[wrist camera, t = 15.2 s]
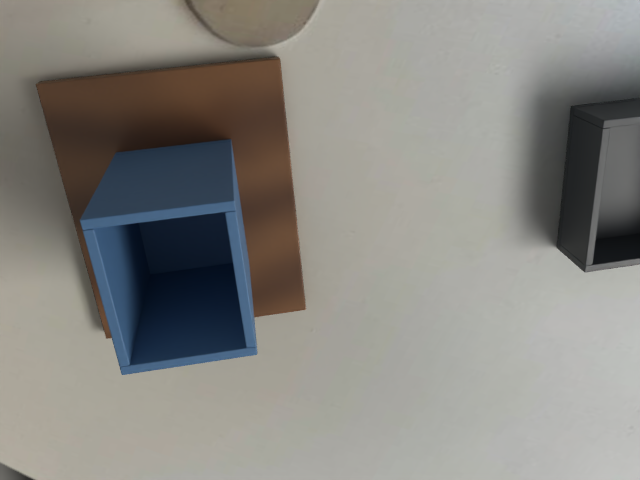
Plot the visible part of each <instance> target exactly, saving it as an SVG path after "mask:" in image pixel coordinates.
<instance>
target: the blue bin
mask: <svg viewBox="0 0 640 480" xmlns="http://www.w3.org/2000/svg"><path fill="white" fill-rule="evenodd" d="M80 223H81V227H82V230H83V234H84V238H85V241H86V245H87V249H88V252H89V256H90V260H91V263H92V267H93V271H94V274H95V278H96V282H97V285H98V289H99V293H100V296H101V300H102V304H103V307H104V311H105V315H106V318H107V322H108V326H109V329H110V333H111V337H112V340H113V344H114V348H115V351H116V355H117V359H118V362H119V366H120V370H121V374H122V375H126V374H132V373H139V372H145V371H152V370H159V369H165V368H172V367H179V366H185V365H192V364H198V363H205V362H212V361H218V360H225V359H231V358H238V357H245V356H251V355H257V344H256V333H255V321H254V310H253V299H252V288H251V277H250V266H249V258H248V251H247V244H246V238H245V231H244V224H243V217H242V210H241V203H240V196H239V189H238V182H237V176H236V169H235V162H234V155H233V148H232V141H231V139H228V140H220V141H211V142H202V143H194V144H185V145H177V146H168V147H159V148H151V149H142V150H134V151H125V152H116V153H115V155H114V157H113V159H112V161H111V163H110V165H109V166H108V168H107V170H106V172H105V174H104V176H103V178H102V180H101V181H100V183H99V185H98V187H97V189H96V191H95V193H94V195H93V196H92V198H91V200H90V202H89V204H88V206H87V208H86V210H85V211H84V213H83V215H82V217H81V219H80Z"/></svg>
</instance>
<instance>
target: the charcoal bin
mask: <svg viewBox="0 0 640 480" xmlns="http://www.w3.org/2000/svg"><path fill="white" fill-rule="evenodd" d="M557 249H559V250H560V251H561V252H562V253H563V254H564V255H565V256H567V257H568V258H569V259H570V260H571V261H572V262H573V263H575V264H576V265H577V266H578V267H579V268H580V269H581V270H583V271H584V272H590V271H597V270H604V269H611V268H618V267H625V266H632V265H638V264H640V98H636V99H628V100H619V101H611V102H602V103H594V104H585V105H577V106H571V112H570V122H569V132H568V142H567V152H566V162H565V172H564V181H563V191H562V201H561V211H560V221H559V231H558V241H557Z"/></svg>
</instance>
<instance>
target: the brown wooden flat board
mask: <svg viewBox="0 0 640 480" xmlns="http://www.w3.org/2000/svg"><path fill="white" fill-rule="evenodd" d="M36 87H37V90H38V94H39V98H40V101H41V105H42V108H43V112H44V116H45V119H46V123H47V126H48V130H49V134H50V137H51V141H52V144H53V148H54V152H55V155H56V159H57V162H58V166H59V170H60V173H61V177H62V180H63V184H64V188H65V191H66V195H67V198H68V202H69V206H70V209H71V213H72V216H73V220H74V224H75V227H76V231H77V234H78V238H79V242H80V245H81V249H82V252H83V256H84V260H85V263H86V267H87V270H88V274H89V278H90V281H91V285H92V288H93V292H94V296H95V299H96V303H97V306H98V310H99V314H100V317H101V321H102V325H103V328H104V332H105V335H106V338H112V337H111V333H110V329H109V326H108V322H107V318H106V315H105V311H104V307H103V304H102V300H101V296H100V293H99V289H98V285H97V282H96V278H95V274H94V271H93V267H92V263H91V260H90V256H89V252H88V249H87V245H86V241H85V238H84V234H83V230H82V227H81V223H80V219H81V217H82V215H83V213H84V211H85V210H86V208H87V206H88V204H89V202H90V200H91V198H92V196H93V195H94V193H95V191H96V189H97V187H98V185H99V183H100V181H101V180H102V178H103V176H104V174H105V172H106V170H107V168H108V166H109V165H110V163H111V161H112V159H113V157H114V155H115V153H116V152H125V151H134V150H142V149H151V148H159V147H168V146H177V145H185V144H194V143H202V142H211V141H220V140H228V139H231V141H232V148H233V155H234V162H235V169H236V176H237V182H238V189H239V196H240V203H241V210H242V217H243V224H244V231H245V238H246V244H247V251H248V258H249V266H250V277H251V288H252V299H253V310H254V317H259V316H265V315H272V314H279V313H286V312H293V311H300V310H306V305H305V295H304V285H303V276H302V266H301V256H300V247H299V237H298V228H297V218H296V208H295V199H294V189H293V179H292V170H291V160H290V150H289V141H288V131H287V121H286V112H285V102H284V92H283V83H282V73H281V63H280V58H279V57H269V58H260V59H250V60H240V61H231V62H221V63H211V64H202V65H192V66H183V67H173V68H163V69H154V70H144V71H135V72H125V73H115V74H106V75H96V76H87V77H77V78H67V79H58V80H48V81H40V82H39V83H37V84H36Z"/></svg>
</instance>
